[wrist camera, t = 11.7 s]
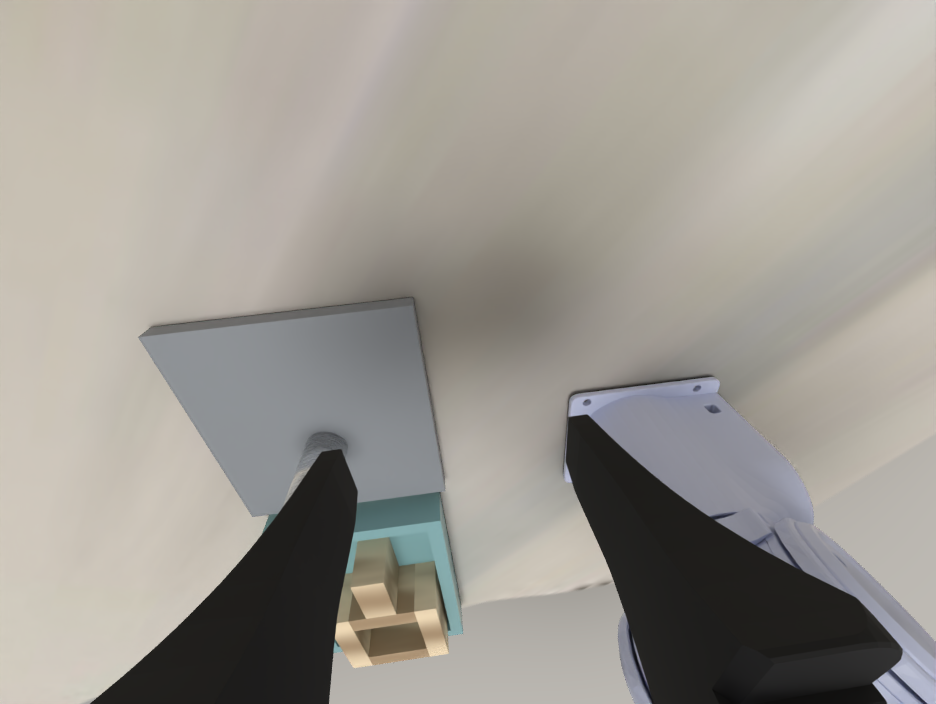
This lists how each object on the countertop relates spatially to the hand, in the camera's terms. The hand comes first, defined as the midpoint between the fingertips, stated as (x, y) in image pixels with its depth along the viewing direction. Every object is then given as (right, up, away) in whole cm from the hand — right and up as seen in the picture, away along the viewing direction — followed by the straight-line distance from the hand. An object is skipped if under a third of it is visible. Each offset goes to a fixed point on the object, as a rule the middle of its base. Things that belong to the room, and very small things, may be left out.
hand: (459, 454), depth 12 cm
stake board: (-8, -1, +11) cm, 14 cm away
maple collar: (-6, -16, +19) cm, 26 cm away
